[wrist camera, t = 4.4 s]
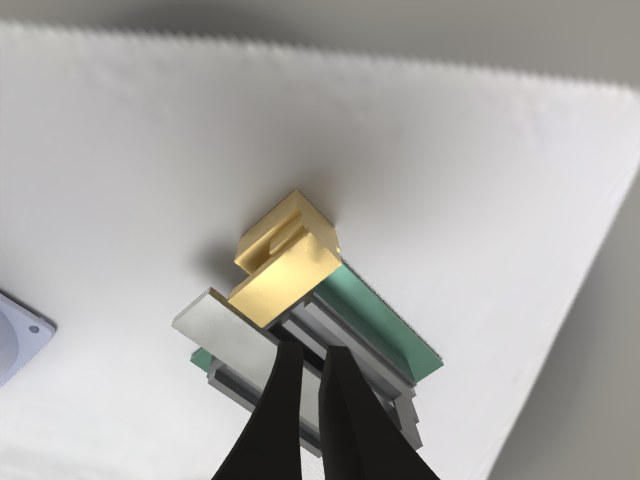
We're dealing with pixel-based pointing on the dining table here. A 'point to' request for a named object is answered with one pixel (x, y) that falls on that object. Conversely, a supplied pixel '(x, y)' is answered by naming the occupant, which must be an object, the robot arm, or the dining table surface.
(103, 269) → the dining table surface
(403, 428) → the grey forked bracket
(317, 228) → the clip
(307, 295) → the block
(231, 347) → the grey long flat bar
